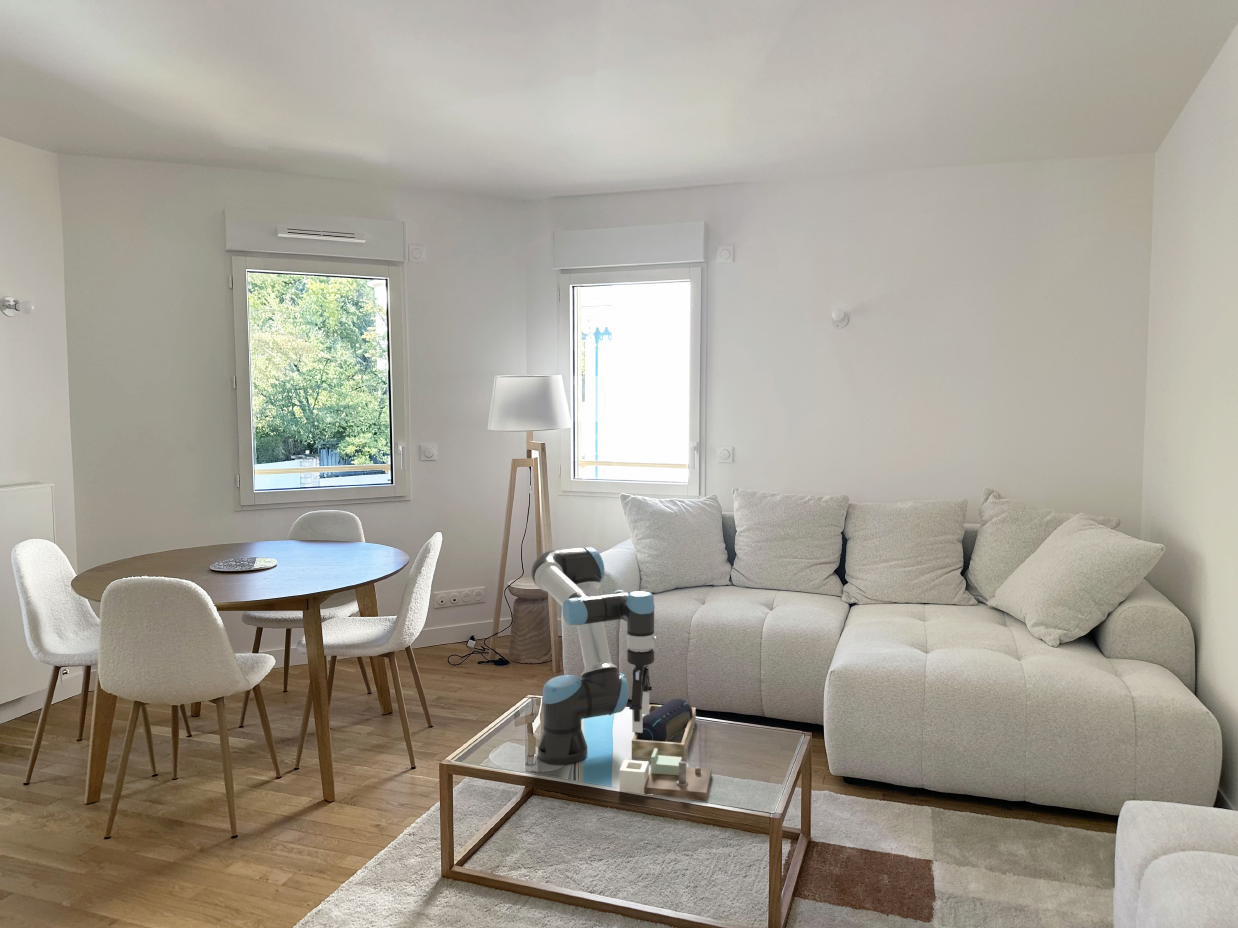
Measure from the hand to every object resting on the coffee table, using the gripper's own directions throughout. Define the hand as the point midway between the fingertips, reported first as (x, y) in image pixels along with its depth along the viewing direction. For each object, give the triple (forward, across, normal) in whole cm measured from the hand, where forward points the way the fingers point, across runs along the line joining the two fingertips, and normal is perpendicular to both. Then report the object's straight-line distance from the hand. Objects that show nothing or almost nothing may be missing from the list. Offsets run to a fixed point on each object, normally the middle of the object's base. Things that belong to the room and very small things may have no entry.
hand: (641, 722), depth 235 cm
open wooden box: (+18, +33, -3) cm, 38 cm away
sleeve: (+18, -1, +2) cm, 18 cm away
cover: (+16, +6, -6) cm, 18 cm away
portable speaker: (+18, +34, -3) cm, 38 cm away
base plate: (+18, +2, -10) cm, 21 cm away
